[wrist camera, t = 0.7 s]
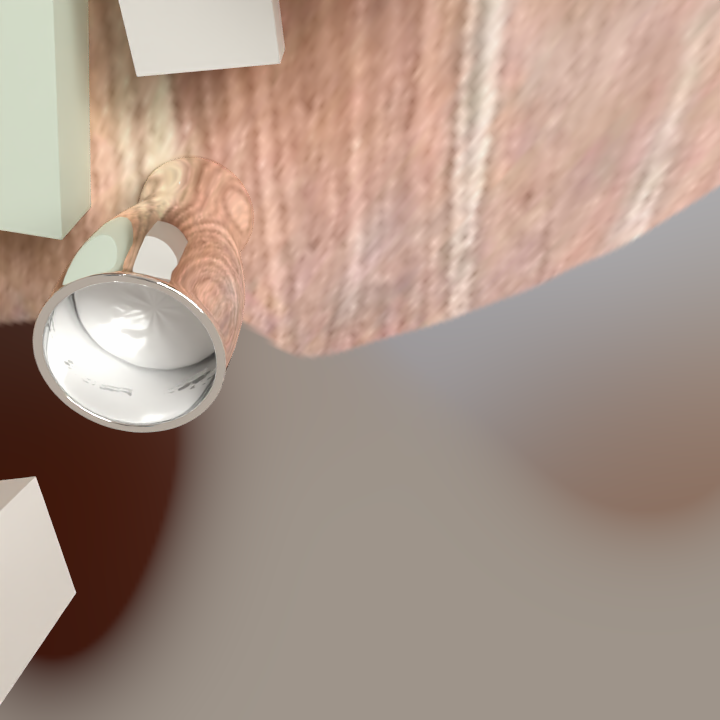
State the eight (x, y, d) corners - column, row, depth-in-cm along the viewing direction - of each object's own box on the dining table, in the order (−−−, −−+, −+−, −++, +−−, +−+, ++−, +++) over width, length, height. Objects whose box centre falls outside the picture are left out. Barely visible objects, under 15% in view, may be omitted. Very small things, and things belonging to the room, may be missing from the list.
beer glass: (288, 209, 36) (272, 353, 23) (210, 294, 38) (156, 466, 25) (183, 118, 33) (98, 224, 20) (105, 215, 35) (-14, 365, 23)
